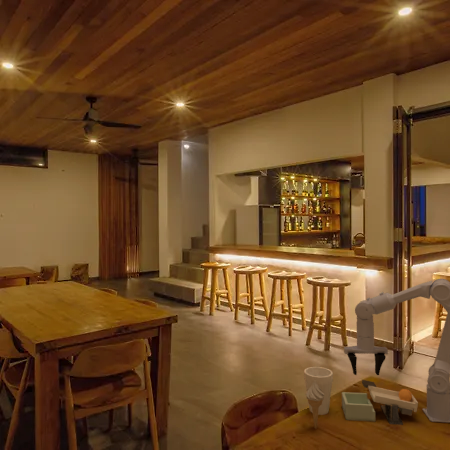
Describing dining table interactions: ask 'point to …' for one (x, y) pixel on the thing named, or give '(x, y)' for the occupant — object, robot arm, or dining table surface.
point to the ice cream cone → (315, 400)
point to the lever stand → (392, 414)
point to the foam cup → (320, 385)
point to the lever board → (390, 398)
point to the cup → (357, 407)
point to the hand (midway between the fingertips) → (365, 374)
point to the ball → (405, 395)
